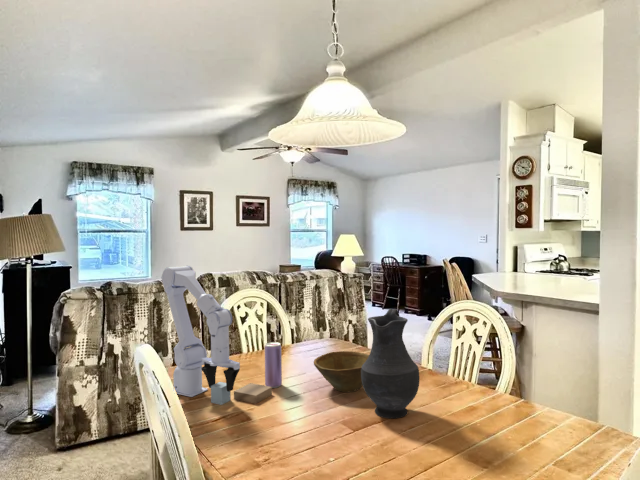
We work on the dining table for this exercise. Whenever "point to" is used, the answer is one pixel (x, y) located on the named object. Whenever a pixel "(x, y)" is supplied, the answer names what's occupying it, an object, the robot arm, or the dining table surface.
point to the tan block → (252, 393)
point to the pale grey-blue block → (220, 393)
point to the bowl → (342, 369)
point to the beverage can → (273, 365)
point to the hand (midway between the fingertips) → (220, 388)
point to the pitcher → (389, 367)
